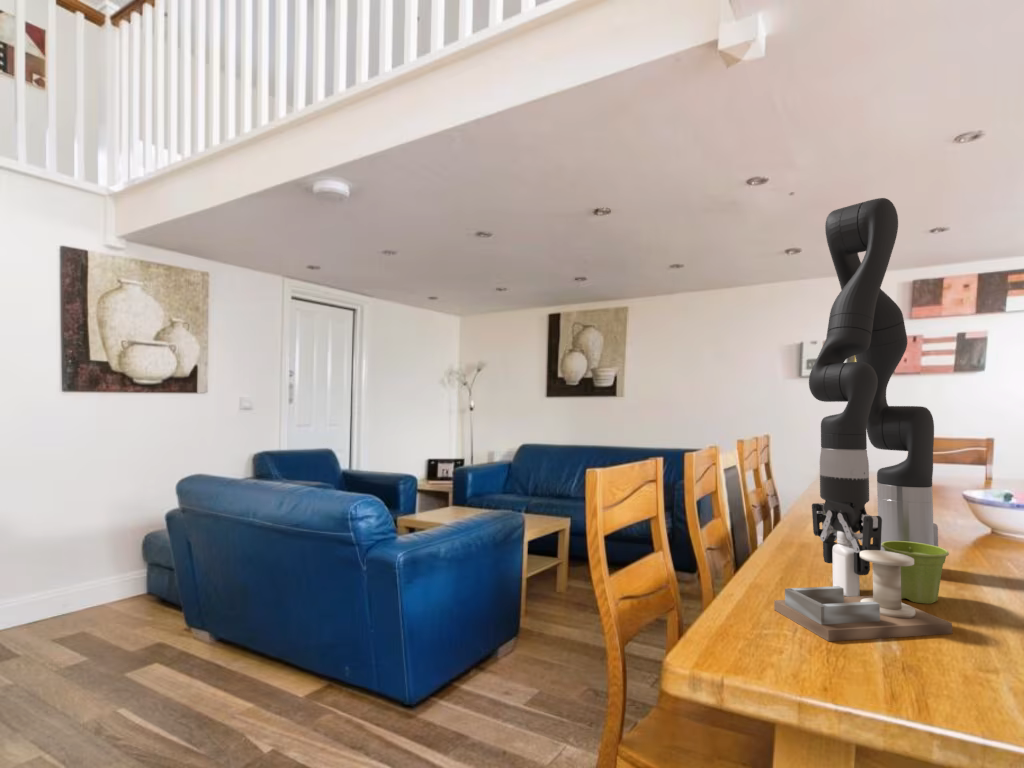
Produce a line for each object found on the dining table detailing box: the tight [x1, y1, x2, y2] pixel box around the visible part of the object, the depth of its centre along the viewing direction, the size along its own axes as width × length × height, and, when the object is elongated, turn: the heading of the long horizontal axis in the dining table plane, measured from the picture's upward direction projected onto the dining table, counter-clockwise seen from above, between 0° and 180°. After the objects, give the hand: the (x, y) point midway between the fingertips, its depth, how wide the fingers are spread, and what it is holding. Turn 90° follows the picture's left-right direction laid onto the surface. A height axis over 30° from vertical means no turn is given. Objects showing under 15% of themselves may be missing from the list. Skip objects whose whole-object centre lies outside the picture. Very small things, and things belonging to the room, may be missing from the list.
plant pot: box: [881, 541, 950, 605], centre depth 94 cm, size 9×9×9 cm
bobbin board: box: [773, 550, 953, 642], centre depth 84 cm, size 20×12×10 cm, turn 99°
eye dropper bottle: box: [831, 530, 861, 597], centre depth 97 cm, size 4×6×12 cm
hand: (845, 568), depth 97 cm, fingers open, 6 cm apart
